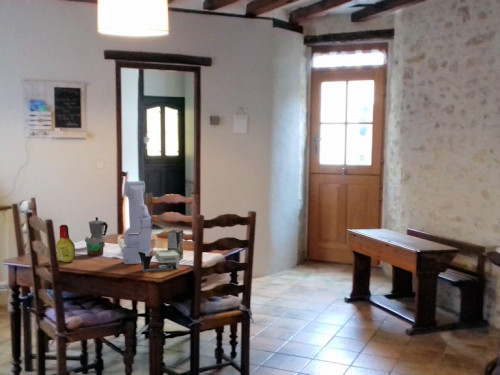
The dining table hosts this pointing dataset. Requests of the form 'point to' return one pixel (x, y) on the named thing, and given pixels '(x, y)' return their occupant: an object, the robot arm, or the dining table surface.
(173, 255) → the low cabinet
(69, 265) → the dining table surface
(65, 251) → the bottle
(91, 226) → the coffeepot
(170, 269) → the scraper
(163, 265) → the steel token
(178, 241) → the coffee box
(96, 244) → the food container
